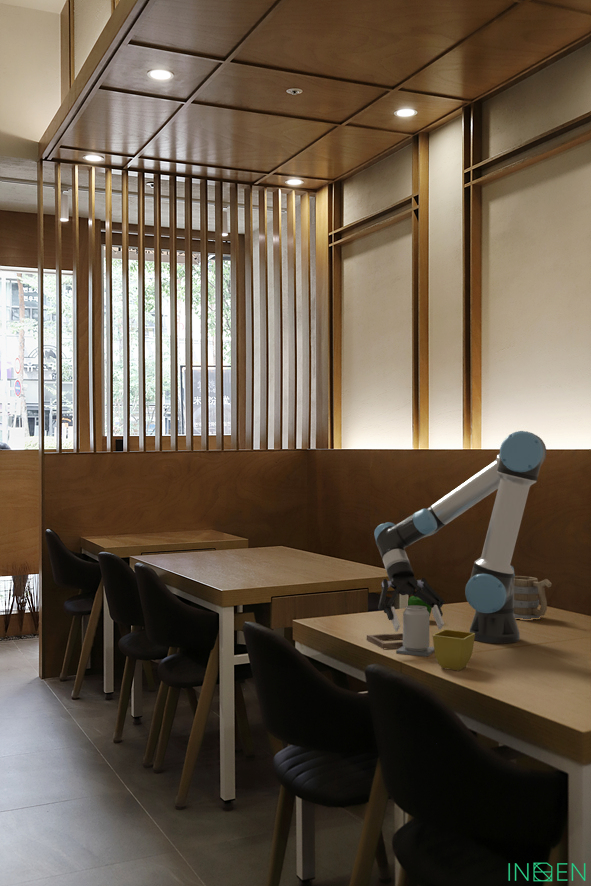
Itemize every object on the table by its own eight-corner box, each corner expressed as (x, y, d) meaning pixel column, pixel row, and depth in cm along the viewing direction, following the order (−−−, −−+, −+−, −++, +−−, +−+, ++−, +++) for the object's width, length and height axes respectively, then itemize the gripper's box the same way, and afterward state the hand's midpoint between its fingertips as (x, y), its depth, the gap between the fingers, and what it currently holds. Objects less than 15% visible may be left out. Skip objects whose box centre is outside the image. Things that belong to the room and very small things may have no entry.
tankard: (496, 615, 297) (496, 573, 297) (524, 613, 302) (524, 572, 302) (534, 625, 279) (534, 580, 279) (563, 623, 284) (563, 579, 284)
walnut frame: (403, 637, 255) (403, 633, 255) (421, 646, 243) (421, 641, 243) (366, 639, 251) (366, 634, 251) (382, 648, 239) (382, 643, 239)
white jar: (428, 652, 232) (429, 609, 232) (401, 650, 233) (402, 608, 233) (429, 646, 239) (430, 605, 239) (403, 645, 240) (403, 603, 241)
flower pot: (463, 674, 211) (463, 638, 212) (431, 669, 216) (431, 634, 216) (475, 667, 219) (475, 633, 219) (444, 662, 223) (444, 629, 224)
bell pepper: (401, 619, 285) (402, 590, 285) (417, 617, 290) (417, 588, 291) (421, 623, 279) (421, 593, 279) (436, 620, 284) (436, 591, 285)
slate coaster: (435, 650, 238) (435, 647, 238) (427, 656, 230) (427, 653, 230) (405, 647, 242) (405, 644, 242) (396, 653, 234) (396, 650, 234)
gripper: (431, 574, 255) (454, 633, 240) (356, 576, 247) (375, 637, 233) (439, 559, 250) (463, 618, 235) (363, 560, 242) (383, 621, 228)
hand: (419, 627), depth 234 cm, fingers open, 13 cm apart
